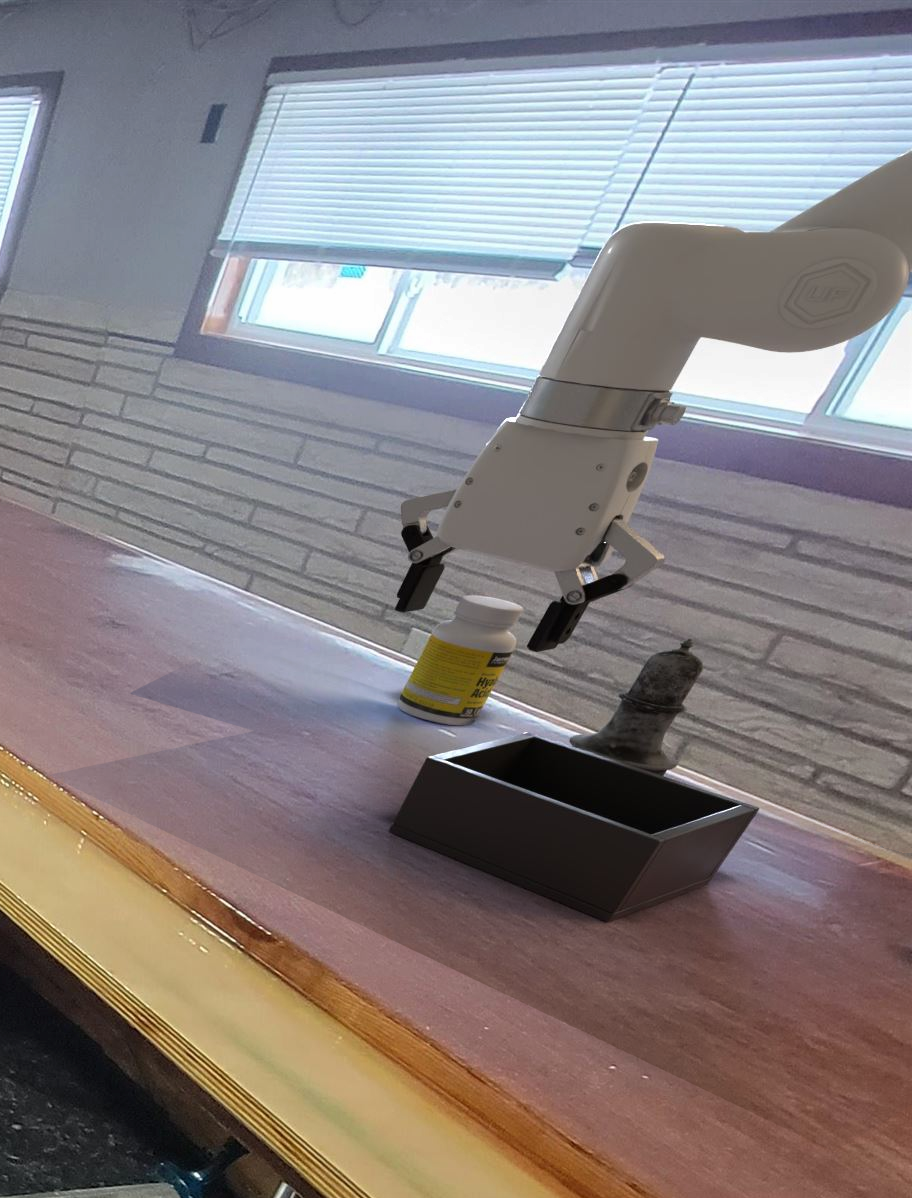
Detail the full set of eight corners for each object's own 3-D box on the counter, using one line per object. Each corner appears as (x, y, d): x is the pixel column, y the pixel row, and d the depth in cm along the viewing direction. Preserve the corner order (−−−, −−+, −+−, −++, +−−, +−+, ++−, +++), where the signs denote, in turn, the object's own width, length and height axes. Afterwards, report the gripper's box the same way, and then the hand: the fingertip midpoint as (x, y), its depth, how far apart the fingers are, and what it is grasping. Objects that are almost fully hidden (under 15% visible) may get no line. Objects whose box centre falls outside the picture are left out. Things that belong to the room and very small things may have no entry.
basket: (488, 803, 87) (528, 731, 85) (707, 885, 78) (760, 807, 75) (387, 831, 83) (426, 756, 80) (607, 922, 73) (660, 841, 70)
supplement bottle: (465, 732, 99) (526, 617, 94) (386, 711, 103) (441, 598, 98) (481, 717, 102) (541, 605, 97) (405, 697, 106) (459, 588, 101)
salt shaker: (607, 780, 92) (699, 628, 86) (671, 816, 87) (774, 656, 81) (525, 774, 92) (611, 622, 86) (584, 809, 87) (680, 650, 81)
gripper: (762, 430, 85) (623, 660, 94) (485, 388, 99) (386, 593, 107) (711, 434, 82) (572, 671, 91) (433, 390, 96) (335, 600, 104)
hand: (471, 628), depth 99 cm, fingers open, 9 cm apart
